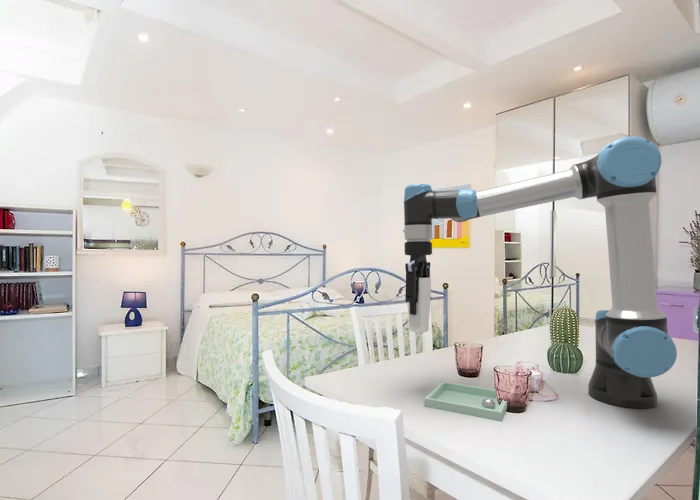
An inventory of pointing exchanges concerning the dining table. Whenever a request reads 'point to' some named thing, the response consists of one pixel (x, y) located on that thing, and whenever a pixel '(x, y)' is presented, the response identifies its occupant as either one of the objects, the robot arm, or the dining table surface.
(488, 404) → the shiny metal ball
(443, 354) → the dining table surface
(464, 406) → the tray
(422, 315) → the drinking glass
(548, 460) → the dining table surface
